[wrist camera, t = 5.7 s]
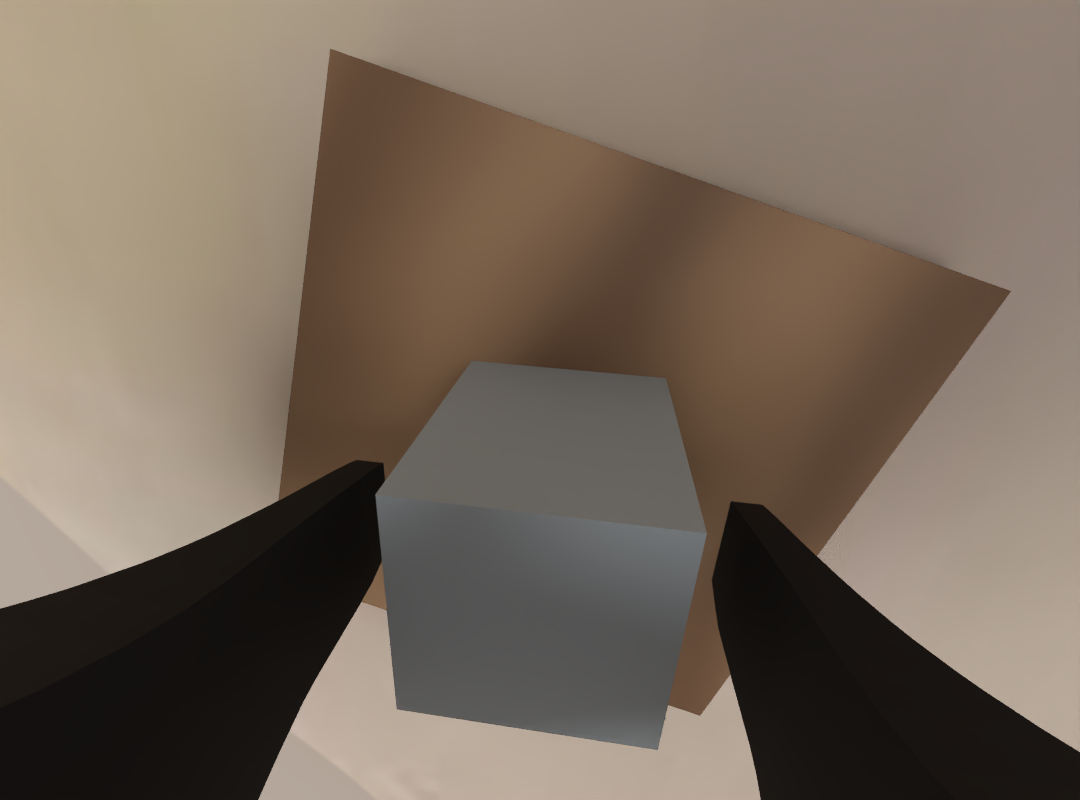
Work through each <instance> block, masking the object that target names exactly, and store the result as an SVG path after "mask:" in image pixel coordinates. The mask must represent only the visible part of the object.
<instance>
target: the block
mask: <svg viewBox="0 0 1080 800" xmlns="http://www.w3.org/2000/svg"><path fill="white" fill-rule="evenodd" d="M375 496H376V506H377V516H378V526H379V536H380V546H381V556H382V566H383V576H384V586H385V596H386V606H387V616H388V626H389V636H390V646H391V656H392V666H393V676H394V686H395V696H396V706H397V709H399V710H405V711H412V712H418V713H424V714H431V715H437V716H444V717H450V718H456V719H463V720H469V721H476V722H482V723H489V724H495V725H501V726H508V727H514V728H521V729H527V730H533V731H540V732H546V733H553V734H559V735H565V736H572V737H578V738H585V739H591V740H597V741H604V742H610V743H617V744H623V745H629V746H636V747H642V748H649V749H655V750H658V746H659V742H660V737H661V733H662V728H663V724H664V720H665V715H666V711H667V707H668V702H669V698H670V693H671V689H672V685H673V680H674V676H675V671H676V667H677V663H678V658H679V654H680V650H681V645H682V641H683V636H684V632H685V628H686V623H687V619H688V615H689V610H690V606H691V601H692V597H693V593H694V588H695V584H696V579H697V575H698V571H699V566H700V562H701V558H702V553H703V549H704V544H705V540H706V536H707V532H706V528H705V524H704V520H703V516H702V513H701V509H700V505H699V501H698V498H697V494H696V490H695V486H694V482H693V479H692V475H691V471H690V467H689V463H688V460H687V456H686V452H685V448H684V445H683V441H682V437H681V433H680V429H679V426H678V422H677V418H676V414H675V411H674V407H673V403H672V399H671V395H670V392H669V388H668V384H667V380H666V378H658V377H647V376H636V375H624V374H613V373H602V372H591V371H580V370H569V369H558V368H547V367H536V366H525V365H514V364H503V363H492V362H480V361H471V363H470V364H469V365H468V367H467V368H466V370H465V371H464V372H463V374H462V375H461V376H460V378H459V379H458V381H457V382H456V383H455V385H454V386H453V388H452V389H451V390H450V392H449V393H448V395H447V396H446V397H445V399H444V400H443V401H442V403H441V404H440V406H439V407H438V408H437V410H436V411H435V413H434V414H433V415H432V417H431V418H430V420H429V421H428V422H427V424H426V425H425V426H424V428H423V429H422V431H421V432H420V433H419V435H418V436H417V438H416V439H415V440H414V442H413V443H412V445H411V446H410V447H409V449H408V450H407V451H406V453H405V454H404V456H403V457H402V458H401V460H400V461H399V463H398V464H397V465H396V467H395V468H394V470H393V471H392V472H391V474H390V475H389V476H388V478H387V479H386V481H385V482H384V483H383V485H382V486H381V488H380V489H379V490H378V492H377V493H376V495H375Z"/></svg>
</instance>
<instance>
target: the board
mask: <svg viewBox="0 0 1080 800" xmlns="http://www.w3.org/2000/svg"><path fill="white" fill-rule="evenodd" d="M1010 292H1011V291H1009V290H1006V289H1003V288H1000V287H998V286H995V285H992V284H989V283H986V282H984V281H981V280H978V279H975V278H972V277H969V276H967V275H964V274H961V273H958V272H955V271H953V270H950V269H947V268H944V267H941V266H939V265H936V264H933V263H930V262H927V261H925V260H922V259H919V258H916V257H913V256H911V255H908V254H905V253H902V252H899V251H896V250H894V249H891V248H888V247H885V246H882V245H880V244H877V243H874V242H871V241H868V240H866V239H863V238H860V237H857V236H854V235H852V234H849V233H846V232H843V231H840V230H838V229H835V228H832V227H829V226H826V225H823V224H821V223H818V222H815V221H812V220H809V219H807V218H804V217H801V216H798V215H795V214H793V213H790V212H787V211H784V210H781V209H779V208H776V207H773V206H770V205H767V204H765V203H762V202H759V201H756V200H753V199H750V198H748V197H745V196H742V195H739V194H736V193H734V192H731V191H728V190H725V189H722V188H720V187H717V186H714V185H711V184H708V183H706V182H703V181H700V180H697V179H694V178H692V177H689V176H686V175H683V174H680V173H678V172H675V171H672V170H669V169H666V168H663V167H661V166H658V165H655V164H652V163H649V162H647V161H644V160H641V159H638V158H635V157H633V156H630V155H627V154H624V153H621V152H619V151H616V150H613V149H610V148H607V147H605V146H602V145H599V144H596V143H593V142H590V141H588V140H585V139H582V138H579V137H576V136H574V135H571V134H568V133H565V132H562V131H560V130H557V129H554V128H551V127H548V126H546V125H543V124H540V123H537V122H534V121H532V120H529V119H526V118H523V117H520V116H517V115H515V114H512V113H509V112H506V111H503V110H501V109H498V108H495V107H492V106H489V105H487V104H484V103H481V102H478V101H475V100H473V99H470V98H467V97H464V96H461V95H459V94H456V93H453V92H450V91H447V90H444V89H442V88H439V87H436V86H433V85H430V84H428V83H425V82H422V81H419V80H416V79H414V78H411V77H408V76H405V75H402V74H400V73H397V72H394V71H391V70H388V69H386V68H383V67H380V66H377V65H374V64H371V63H369V62H366V61H363V60H360V59H357V58H355V57H352V56H349V55H346V54H343V53H341V52H338V51H335V50H332V49H330V57H329V65H328V74H327V83H326V92H325V100H324V109H323V118H322V126H321V135H320V144H319V153H318V161H317V170H316V179H315V187H314V196H313V205H312V214H311V222H310V231H309V240H308V248H307V257H306V266H305V275H304V283H303V292H302V301H301V310H300V318H299V327H298V336H297V344H296V353H295V362H294V371H293V379H292V388H291V397H290V405H289V414H288V423H287V432H286V440H285V449H284V458H283V467H282V475H281V484H280V493H279V500H281V499H283V498H284V497H286V496H288V495H290V494H292V493H294V492H296V491H297V490H299V489H301V488H303V487H305V486H307V485H308V484H310V483H312V482H314V481H316V480H318V479H319V478H321V477H323V476H325V475H327V474H329V473H330V472H332V471H334V470H336V469H338V468H340V467H342V466H344V465H346V464H348V463H350V462H353V461H355V460H362V461H371V462H380V463H384V474H385V481H386V479H387V478H388V476H389V475H390V474H391V472H392V471H393V470H394V468H395V467H396V465H397V464H398V463H399V461H400V460H401V458H402V457H403V456H404V454H405V453H406V451H407V450H408V449H409V447H410V446H411V445H412V443H413V442H414V440H415V439H416V438H417V436H418V435H419V433H420V432H421V431H422V429H423V428H424V426H425V425H426V424H427V422H428V421H429V420H430V418H431V417H432V415H433V414H434V413H435V411H436V410H437V408H438V407H439V406H440V404H441V403H442V401H443V400H444V399H445V397H446V396H447V395H448V393H449V392H450V390H451V389H452V388H453V386H454V385H455V383H456V382H457V381H458V379H459V378H460V376H461V375H462V374H463V372H464V371H465V370H466V368H467V367H468V365H469V364H470V363H471V361H480V362H492V363H503V364H514V365H525V366H536V367H547V368H558V369H569V370H580V371H591V372H602V373H613V374H624V375H636V376H647V377H658V378H666V380H667V384H668V388H669V392H670V395H671V399H672V403H673V407H674V411H675V414H676V418H677V422H678V426H679V429H680V433H681V437H682V441H683V445H684V448H685V452H686V456H687V460H688V463H689V467H690V471H691V475H692V479H693V482H694V486H695V490H696V494H697V498H698V501H699V505H700V509H701V513H702V516H703V520H704V524H705V528H706V532H707V536H706V540H705V544H704V549H703V553H702V558H701V562H700V566H699V571H698V575H697V579H696V584H695V588H694V593H693V597H692V601H691V606H690V610H689V615H688V619H687V623H686V628H685V632H684V636H683V641H682V645H681V650H680V654H679V658H678V663H677V667H676V671H675V676H674V680H673V685H672V689H671V693H670V698H669V702H668V705H670V706H673V707H676V708H679V709H682V710H685V711H688V712H691V713H694V714H697V715H701V714H702V712H703V711H704V710H705V708H706V707H707V705H708V704H709V703H710V701H711V700H712V699H713V697H714V696H715V694H716V693H717V692H718V690H719V689H720V688H721V686H722V685H723V684H724V682H725V681H726V679H727V678H728V677H729V675H730V671H729V667H728V663H727V660H726V656H725V652H724V648H723V645H722V641H721V637H720V633H719V629H718V623H717V617H716V610H715V603H714V595H713V587H712V576H713V572H714V568H715V564H716V560H717V556H718V552H719V548H720V544H721V539H722V535H723V531H724V527H725V523H726V519H727V515H728V511H729V507H730V503H731V501H734V502H743V503H752V504H761V505H763V506H765V507H766V508H767V509H768V510H769V511H770V512H771V513H772V514H773V515H774V516H776V517H777V518H778V519H779V520H780V521H781V522H782V523H783V524H784V525H785V526H786V527H787V528H788V529H789V530H790V531H791V532H792V533H793V534H794V535H795V536H796V537H797V538H798V539H799V540H800V541H801V542H802V543H804V544H805V545H806V546H807V547H808V548H809V549H810V550H811V551H812V552H813V553H814V554H815V555H816V556H817V555H818V554H819V553H820V551H821V550H822V548H823V547H824V546H825V544H826V543H827V542H828V540H829V539H830V538H831V536H832V535H833V533H834V532H835V531H836V529H837V528H838V527H839V525H840V524H841V522H842V521H843V520H844V518H845V517H846V516H847V514H848V513H849V512H850V510H851V509H852V507H853V506H854V505H855V503H856V502H857V501H858V499H859V498H860V497H861V495H862V494H863V492H864V491H865V490H866V488H867V487H868V486H869V484H870V483H871V482H872V480H873V479H874V477H875V476H876V475H877V473H878V472H879V471H880V469H881V468H882V467H883V465H884V464H885V462H886V461H887V460H888V458H889V457H890V456H891V454H892V453H893V451H894V450H895V449H896V447H897V446H898V445H899V443H900V442H901V441H902V439H903V438H904V436H905V435H906V434H907V432H908V431H909V430H910V428H911V427H912V426H913V424H914V423H915V421H916V420H917V419H918V417H919V416H920V415H921V413H922V412H923V411H924V409H925V408H926V406H927V405H928V404H929V402H930V401H931V400H932V398H933V397H934V396H935V394H936V393H937V391H938V390H939V389H940V387H941V386H942V385H943V383H944V382H945V381H946V379H947V378H948V376H949V375H950V374H951V372H952V371H953V370H954V368H955V367H956V365H957V364H958V363H959V361H960V360H961V359H962V357H963V356H964V355H965V353H966V352H967V350H968V349H969V348H970V346H971V345H972V344H973V342H974V341H975V340H976V338H977V337H978V335H979V334H980V333H981V331H982V330H983V329H984V327H985V326H986V325H987V323H988V322H989V320H990V319H991V318H992V316H993V315H994V314H995V312H996V311H997V310H998V308H999V307H1000V305H1001V304H1002V303H1003V301H1004V300H1005V299H1006V297H1007V296H1008V295H1009V293H1010ZM361 602H364V603H367V604H370V605H373V606H376V607H379V608H382V609H385V610H387V606H386V596H385V586H384V576H383V566H382V562H381V564H380V567H379V569H378V571H377V573H376V576H375V578H374V580H373V582H372V584H371V586H370V588H369V589H368V591H367V593H366V595H365V596H364V598H363V600H362V601H361Z"/></svg>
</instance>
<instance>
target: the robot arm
mask: <svg viewBox="0 0 1080 800" xmlns="http://www.w3.org/2000/svg"><path fill="white" fill-rule="evenodd" d="M384 482H385V474H384V463H380V462H371V461H362V460H355V461H353V462H350V463H348V464H346V465H344V466H342V467H340V468H338V469H336V470H334V471H332V472H330V473H329V474H327V475H325V476H323V477H321V478H319V479H318V480H316V481H314V482H312V483H310V484H308V485H307V486H305V487H303V488H301V489H299V490H297V491H296V492H294V493H292V494H290V495H288V496H286V497H284V498H283V499H281V500H279V501H277V502H275V503H273V504H271V505H270V506H268V507H266V508H264V509H262V510H260V511H258V512H256V513H254V514H252V515H250V516H247V517H245V518H243V519H241V520H239V521H237V522H235V523H233V524H231V525H229V526H227V527H225V528H223V529H221V530H219V531H217V532H215V533H213V534H211V535H208V536H206V537H204V538H202V539H200V540H197V541H195V542H193V543H190V544H188V545H186V546H183V547H181V548H178V549H176V550H174V551H171V552H169V553H166V554H164V555H161V556H159V557H156V558H154V559H151V560H149V561H146V562H144V563H141V564H138V565H135V566H132V567H130V568H127V569H124V570H121V571H118V572H115V573H112V574H110V575H107V576H104V577H101V578H98V579H95V580H92V581H89V582H87V583H84V584H81V585H78V586H75V587H72V588H69V589H66V590H63V591H59V592H57V593H53V594H49V595H46V596H43V597H40V598H36V599H33V600H30V601H27V602H23V603H19V604H16V605H12V606H9V607H5V608H1V609H0V800H258V799H259V797H260V794H261V792H262V790H263V787H264V785H265V783H266V781H267V779H268V776H269V774H270V772H271V770H272V767H273V765H274V763H275V761H276V758H277V756H278V754H279V752H280V750H281V748H282V745H283V743H284V741H285V739H286V737H287V735H288V733H289V731H290V729H291V726H292V724H293V722H294V720H295V718H296V716H297V714H298V712H299V710H300V707H301V705H302V703H303V701H304V699H305V698H306V696H307V694H308V692H309V690H310V688H311V686H312V685H313V683H314V681H315V679H316V677H317V676H318V674H319V672H320V671H321V669H322V667H323V666H324V664H325V662H326V661H327V659H328V657H329V656H330V654H331V652H332V650H333V649H334V647H335V645H336V644H337V642H338V640H339V639H340V637H341V635H342V634H343V632H344V630H345V629H346V627H347V625H348V624H349V622H350V620H351V619H352V617H353V615H354V613H355V612H356V610H357V608H358V607H359V605H360V603H361V601H362V600H363V598H364V596H365V595H366V593H367V591H368V589H369V588H370V586H371V584H372V582H373V580H374V578H375V576H376V573H377V571H378V569H379V567H380V564H381V562H382V556H381V546H380V536H379V526H378V516H377V506H376V496H375V495H376V493H377V492H378V490H379V489H380V488H381V486H382V485H383V483H384ZM712 587H713V595H714V603H715V610H716V617H717V623H718V629H719V633H720V637H721V641H722V645H723V648H724V652H725V656H726V660H727V663H728V667H729V671H730V674H731V678H732V682H733V685H734V689H735V693H736V696H737V700H738V704H739V707H740V711H741V715H742V718H743V722H744V726H745V729H746V733H747V737H748V740H749V744H750V748H751V753H752V757H753V761H754V766H755V770H756V774H757V780H758V786H759V791H760V797H761V800H1080V752H1078V751H1077V750H1075V749H1074V748H1072V747H1070V746H1069V745H1067V744H1065V743H1064V742H1062V741H1061V740H1059V739H1057V738H1056V737H1054V736H1053V735H1051V734H1049V733H1048V732H1046V731H1044V730H1043V729H1041V728H1040V727H1038V726H1037V725H1035V724H1034V723H1032V722H1030V721H1029V720H1027V719H1026V718H1024V717H1023V716H1021V715H1020V714H1018V713H1017V712H1015V711H1014V710H1012V709H1011V708H1009V707H1008V706H1006V705H1005V704H1003V703H1002V702H1000V701H999V700H997V699H996V698H994V697H993V696H991V695H990V694H988V693H987V692H985V691H984V690H982V689H981V688H979V687H978V686H976V685H975V684H973V683H972V682H971V681H969V680H968V679H966V678H965V677H963V676H962V675H961V674H959V673H958V672H956V671H955V670H954V669H952V668H951V667H950V666H948V665H947V664H946V663H944V662H943V661H941V660H940V659H939V658H937V657H936V656H935V655H933V654H932V653H931V652H929V651H928V650H927V649H925V648H924V647H923V646H921V645H920V644H919V643H917V642H916V641H915V640H913V639H912V638H911V637H909V636H908V635H907V634H906V633H904V632H903V631H902V630H901V629H899V628H898V627H897V626H896V625H894V624H893V623H892V622H891V621H889V620H888V619H887V618H886V617H885V616H884V615H882V614H881V613H880V612H879V611H878V610H876V609H875V608H874V607H873V606H872V605H870V604H869V603H868V602H867V601H866V600H865V599H863V598H862V597H861V596H860V595H859V594H858V593H856V592H855V591H854V590H853V589H852V588H851V587H850V586H849V585H847V584H846V583H845V582H844V581H843V580H842V579H841V578H840V577H839V576H837V575H836V574H835V573H834V572H833V571H832V570H831V569H830V568H829V567H828V566H827V565H826V564H825V563H823V562H822V561H821V560H820V559H819V558H818V557H817V556H816V555H815V554H814V553H813V552H812V551H811V550H810V549H809V548H808V547H807V546H806V545H805V544H804V543H802V542H801V541H800V540H799V539H798V538H797V537H796V536H795V535H794V534H793V533H792V532H791V531H790V530H789V529H788V528H787V527H786V526H785V525H784V524H783V523H782V522H781V521H780V520H779V519H778V518H777V517H776V516H774V515H773V514H772V513H771V512H770V511H769V510H768V509H767V508H766V507H765V506H763V505H761V504H752V503H743V502H734V501H731V503H730V507H729V511H728V515H727V519H726V523H725V527H724V531H723V535H722V539H721V544H720V548H719V552H718V556H717V560H716V564H715V568H714V572H713V576H712Z"/></svg>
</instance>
